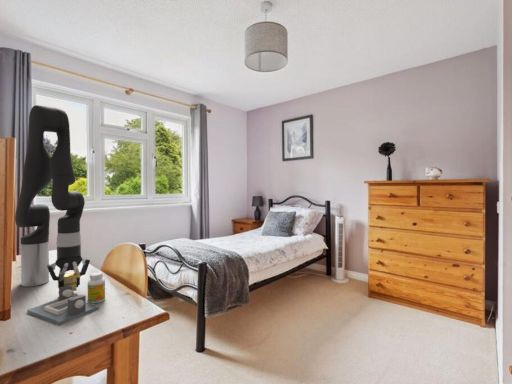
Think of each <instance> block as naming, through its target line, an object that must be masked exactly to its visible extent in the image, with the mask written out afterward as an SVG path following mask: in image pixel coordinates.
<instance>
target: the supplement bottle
mask: <svg viewBox="0 0 512 384" xmlns="http://www.w3.org/2000/svg"><path fill="white" fill-rule="evenodd" d="M103 276H104V275H103V272H100V271H96V272H92V273H90V274H89V280H88V281H87V303H90V304H98V303H101V302H104V300H105V299H106V280H105V278H104V277H103Z"/></svg>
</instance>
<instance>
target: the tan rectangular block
mask: <svg viewBox="0 0 512 384" xmlns="http://www.w3.org/2000/svg"><path fill="white" fill-rule="evenodd" d="M71 285H72V291H73V292H76V291H77V288H78V287H77V275H76V274H75V273H74V272H69V273H65V275H64V278H63V286H71Z"/></svg>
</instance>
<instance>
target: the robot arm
mask: <svg viewBox="0 0 512 384" xmlns="http://www.w3.org/2000/svg"><path fill="white" fill-rule="evenodd" d="M45 132H48V133H56V138H57V144H56V147H55V149H54V150H53V153H52V155H50V153H49V151H48V150H47V147H46V145H45V143H44V135H45ZM27 133H28V134H27V135H28V136H27V146H26V154H25V159H24V164H23V169H22V170H23V171H22V181H21V188H20V194H19V197H18V202H17V204H16V209H15V212H14V213H15V214H14V220H15V225H16V226H17V227H18V228H33V227H36V229H35V230H34V231H32V232H30V233H28V234H25V235H22V237H20V280H21V281H20V286H21V287H26V288H27V287H28V288H29V287H30V288H31V287H36V286H40V285H44V284H47V283H48V282H49V281H50V277H51V279H52V281H54V282H55V281H57V288H58V289H59V288H60V287H64V286H63V278H64V275H65V274H67V272H70V271H73V273H75V274H76V275H77V288H79V286H80V285H81V277H82V276H85V275H86V274H87V271H88V269H89V268H88V267H89V266H90V263H91V261H90V259H89V258H83V257H82V248H81V247H82V237H81V218H82V215H83V212H84V208H85V203H86V202H85V198H84V195H83V194H82V193H81V192H79V191H75V190H71V191H69V187H70V186H72V185H74V184H75V183H76V177H75V172H74V168H73V164H72V163H73V162H72V155H71V133H70V121H69V117H68V114H67V112H66V111H65V110H64V109H61V108H58V107H53V106H46V105H40V104H39V105H38V104H36V105H33V106H31V108H30V112H29V115H28V131H27ZM51 181H52V187H51V204H52V206H53V207H54V209H56V210H57V211H66V212H65V214H64V215H63V216H61V217H59V218H58V219H57V237H56V260H55V262H53V263H51V264H50V262H49V261H50V248H49V247H50V245H49V244H50V243H49V240H50V237H49V236H50V221H51V220H50V219H51V213H50V212H51V210H50V208H49V206H48V205H47V204H41V203H40V204H32V202H33V201H34V199H35V197H37V195H38V194H39V193H41V191H43V189H45V188H46V187H47V185H49V184H50V183H51ZM81 264H82V267H81V270H79V266H80V265H81ZM56 267H58V268H59V272H58V275H57V274H56V273H55V270H56Z"/></svg>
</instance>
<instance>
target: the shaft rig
mask: <svg viewBox="0 0 512 384" xmlns="http://www.w3.org/2000/svg"><path fill="white" fill-rule="evenodd" d="M73 292H74V291H72V285H71V286H64V287H60V288H58V299H55V300H52V301H49V302H46V303H43V304H41V305H36V306H35V307H32V308H29V309H27V310H26V311H27V312H26V313H27V314H29V315H32V316H34V317H37V318H39V319H41V320H44V321H48V322H50V323H53V324H55V325H58V326H61V325H64V324H66V323H68V322H71V321H74V320H76V319H78V318H81V317H84V316H85V315H88V314H90V313H92V312H95V311H98V310H99V305H97V304H94V303H89V302H87V301H86V295H85V294H79V295H75V296H73V295H74V293H73Z"/></svg>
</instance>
